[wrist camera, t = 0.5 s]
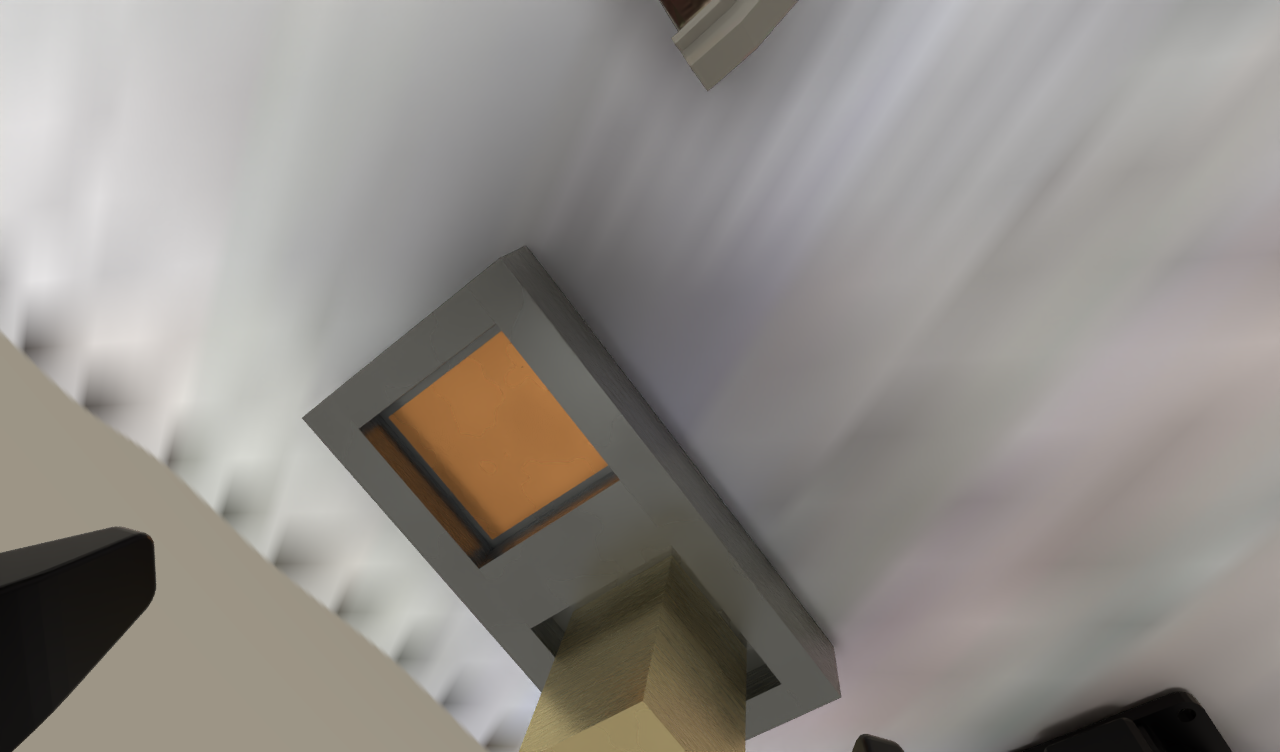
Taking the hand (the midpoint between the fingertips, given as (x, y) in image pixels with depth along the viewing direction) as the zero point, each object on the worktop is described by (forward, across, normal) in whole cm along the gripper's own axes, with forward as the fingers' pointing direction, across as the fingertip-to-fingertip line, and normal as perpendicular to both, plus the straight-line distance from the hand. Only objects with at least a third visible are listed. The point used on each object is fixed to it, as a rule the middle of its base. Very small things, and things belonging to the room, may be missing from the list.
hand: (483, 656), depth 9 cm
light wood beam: (+12, -2, +8) cm, 15 cm away
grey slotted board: (+13, +1, +6) cm, 14 cm away
